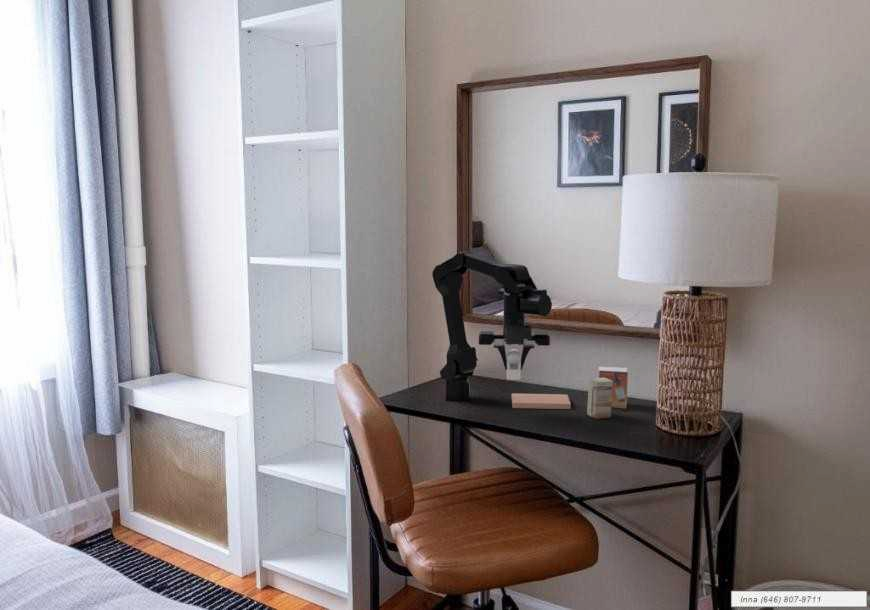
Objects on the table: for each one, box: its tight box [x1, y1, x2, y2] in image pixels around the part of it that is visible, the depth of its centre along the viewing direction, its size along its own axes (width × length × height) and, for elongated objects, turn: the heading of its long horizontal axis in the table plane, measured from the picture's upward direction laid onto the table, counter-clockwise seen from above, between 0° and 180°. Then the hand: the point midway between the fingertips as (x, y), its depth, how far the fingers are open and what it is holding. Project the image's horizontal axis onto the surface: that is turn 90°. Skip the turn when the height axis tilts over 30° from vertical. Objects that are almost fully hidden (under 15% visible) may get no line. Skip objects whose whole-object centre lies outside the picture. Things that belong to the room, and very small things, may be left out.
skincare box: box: [586, 377, 613, 420], centre depth 192 cm, size 5×4×10 cm
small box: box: [597, 366, 629, 409], centre depth 202 cm, size 8×6×10 cm
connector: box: [506, 348, 522, 381], centre depth 193 cm, size 4×6×7 cm, turn 175°
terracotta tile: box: [511, 393, 572, 410], centre depth 204 cm, size 16×10×2 cm, turn 85°
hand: (513, 369), depth 194 cm, fingers closed on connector, 4 cm apart
